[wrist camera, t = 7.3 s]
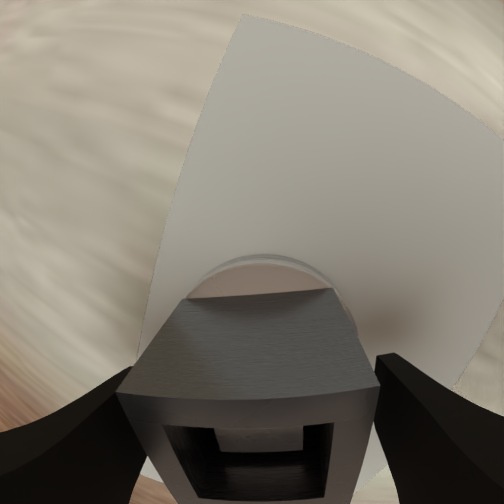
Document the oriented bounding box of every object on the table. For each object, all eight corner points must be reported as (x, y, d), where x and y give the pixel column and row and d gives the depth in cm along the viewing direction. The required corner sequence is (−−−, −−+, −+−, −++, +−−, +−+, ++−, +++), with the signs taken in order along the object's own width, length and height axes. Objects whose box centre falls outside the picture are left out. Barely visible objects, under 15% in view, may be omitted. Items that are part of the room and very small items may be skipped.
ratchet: (350, 245, 10) (404, 296, 6) (330, 496, 15) (335, 550, 10) (164, 261, 11) (99, 316, 6) (232, 500, 15) (223, 553, 10)
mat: (535, 175, 9) (541, 176, 9) (327, 509, 16) (328, 513, 15) (243, 20, 9) (242, 14, 8) (127, 463, 16) (125, 467, 15)
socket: (332, 287, 9) (380, 385, 4) (330, 401, 10) (349, 504, 6) (182, 298, 10) (115, 391, 5) (207, 407, 11) (179, 505, 6)
